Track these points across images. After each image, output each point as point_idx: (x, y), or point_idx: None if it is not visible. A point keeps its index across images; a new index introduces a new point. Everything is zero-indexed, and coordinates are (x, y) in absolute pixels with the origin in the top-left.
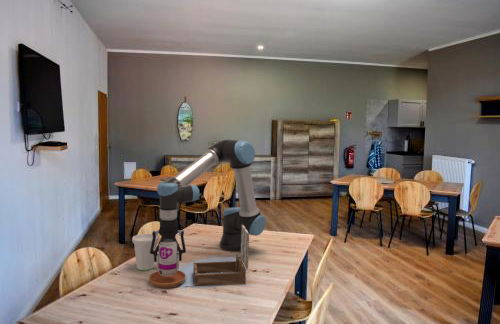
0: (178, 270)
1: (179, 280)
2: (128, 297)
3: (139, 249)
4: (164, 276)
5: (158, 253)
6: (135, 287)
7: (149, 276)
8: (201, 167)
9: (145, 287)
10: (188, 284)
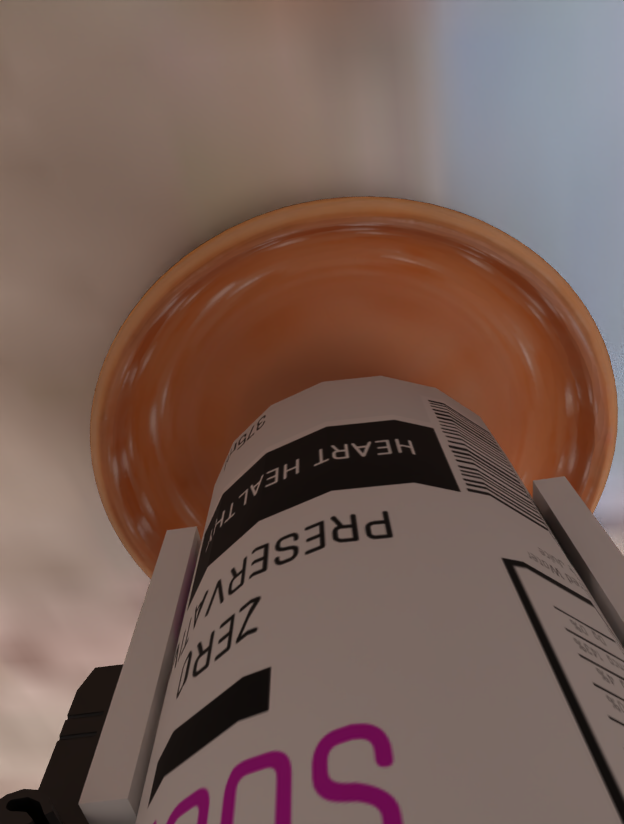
0: (511, 255)
1: (505, 434)
2: (59, 737)
3: None
4: (281, 317)
5: (120, 799)
6: (22, 577)
7: (96, 483)
8: None
9: (130, 573)
10: (607, 487)
